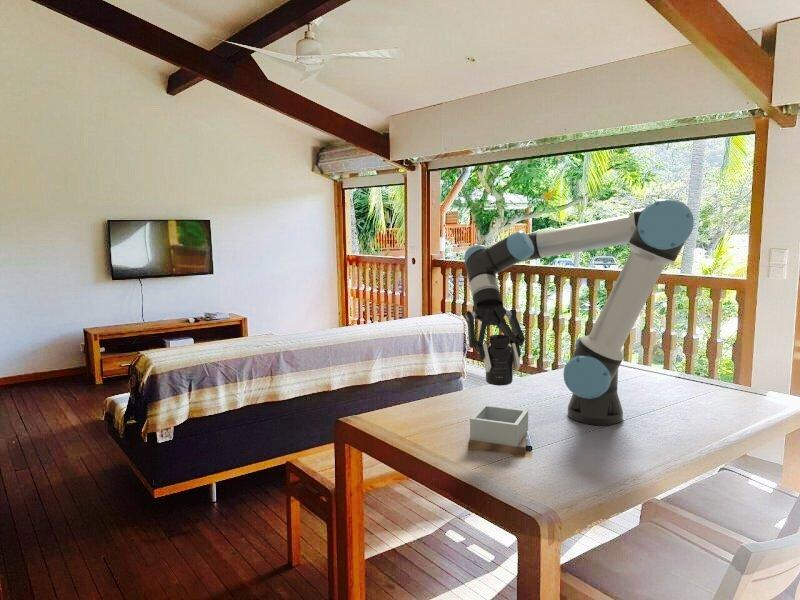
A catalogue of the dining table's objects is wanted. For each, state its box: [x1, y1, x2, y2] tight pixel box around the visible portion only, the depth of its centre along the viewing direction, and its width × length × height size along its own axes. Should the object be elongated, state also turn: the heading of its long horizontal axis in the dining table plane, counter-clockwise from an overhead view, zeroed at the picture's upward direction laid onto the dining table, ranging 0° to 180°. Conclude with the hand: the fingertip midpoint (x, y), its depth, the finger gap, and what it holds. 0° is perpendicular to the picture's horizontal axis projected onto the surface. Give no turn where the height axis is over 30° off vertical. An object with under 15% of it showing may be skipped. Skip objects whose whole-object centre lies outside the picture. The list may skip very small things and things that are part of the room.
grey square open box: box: [469, 404, 529, 447], centre depth 153 cm, size 12×12×6 cm
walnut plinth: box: [467, 432, 528, 455], centre depth 154 cm, size 14×14×2 cm
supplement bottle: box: [485, 334, 514, 387], centre depth 151 cm, size 7×7×12 cm
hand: (503, 368), depth 148 cm, fingers closed on supplement bottle, 7 cm apart
